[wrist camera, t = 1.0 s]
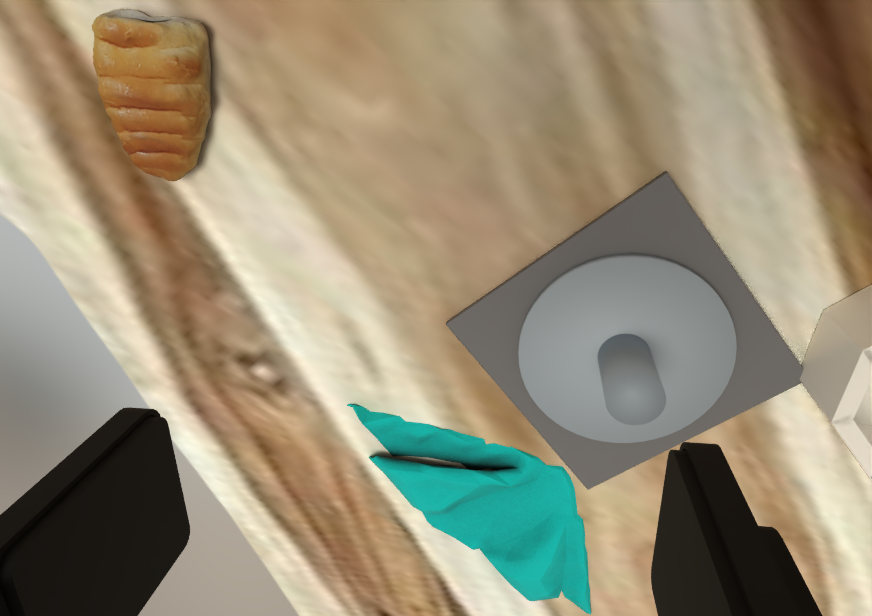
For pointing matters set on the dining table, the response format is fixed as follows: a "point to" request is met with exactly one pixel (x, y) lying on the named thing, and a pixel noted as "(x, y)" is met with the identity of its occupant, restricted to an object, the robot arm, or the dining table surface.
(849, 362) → the bowl
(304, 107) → the dining table surface
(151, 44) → the pastry
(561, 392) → the lid
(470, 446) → the cloth
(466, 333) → the mat
